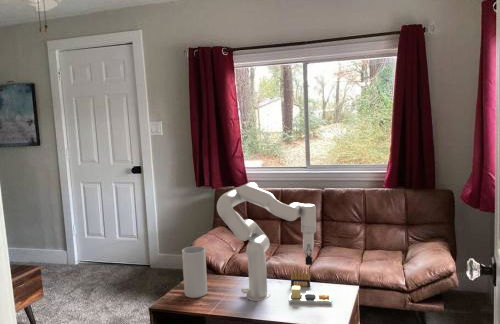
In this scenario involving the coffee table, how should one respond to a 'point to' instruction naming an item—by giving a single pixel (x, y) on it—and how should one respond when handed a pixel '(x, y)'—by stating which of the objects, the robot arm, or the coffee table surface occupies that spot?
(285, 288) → the coffee table surface
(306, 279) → the ammunition clip
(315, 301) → the rail
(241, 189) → the robot arm
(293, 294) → the gold brushed block
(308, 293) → the grey brushed cube
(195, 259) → the cylinder vase
